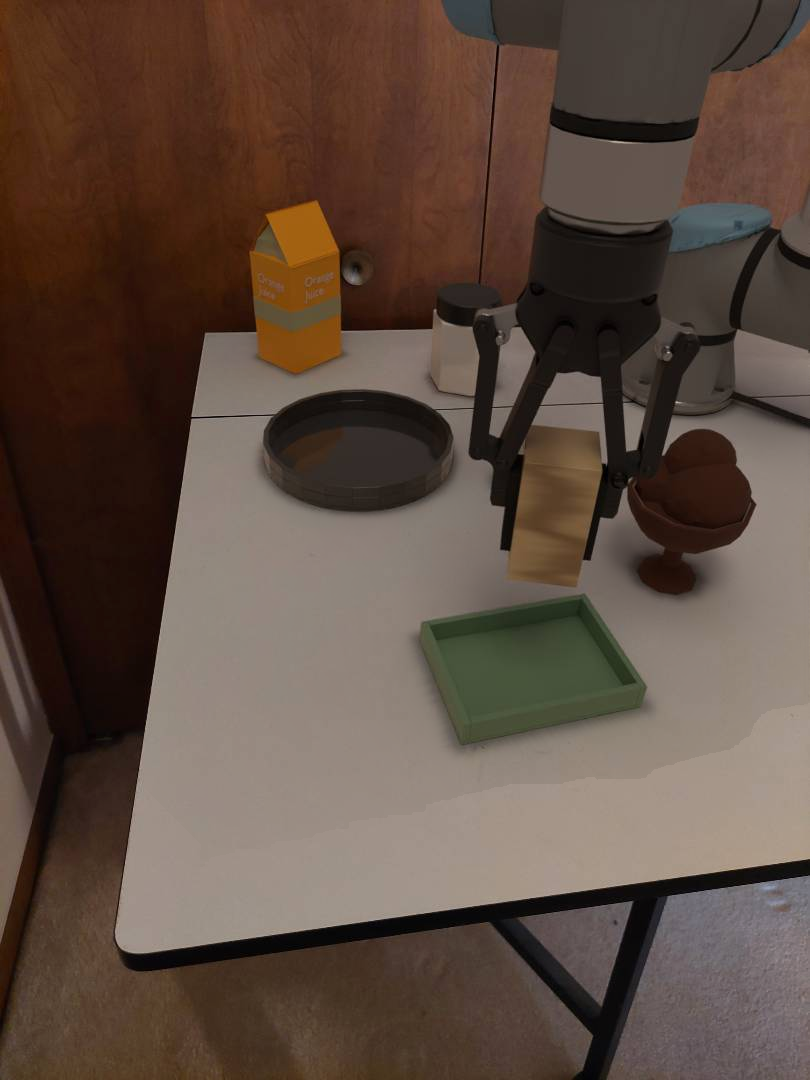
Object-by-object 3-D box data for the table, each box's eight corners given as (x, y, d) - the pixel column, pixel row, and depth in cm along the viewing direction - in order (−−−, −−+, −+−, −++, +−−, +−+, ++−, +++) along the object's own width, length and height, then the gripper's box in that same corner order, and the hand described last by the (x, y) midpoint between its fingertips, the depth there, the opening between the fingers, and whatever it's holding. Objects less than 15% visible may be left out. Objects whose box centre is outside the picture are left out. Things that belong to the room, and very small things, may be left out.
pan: (459, 420, 99) (461, 398, 97) (440, 521, 82) (442, 498, 81) (292, 403, 101) (291, 381, 99) (240, 499, 85) (238, 475, 83)
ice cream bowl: (586, 555, 79) (616, 422, 70) (677, 530, 83) (717, 401, 73) (653, 626, 71) (696, 487, 62) (750, 595, 75) (804, 460, 66)
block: (575, 545, 61) (599, 431, 55) (576, 588, 57) (602, 470, 51) (509, 537, 62) (526, 423, 55) (506, 579, 58) (524, 462, 51)
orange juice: (342, 354, 112) (339, 206, 100) (295, 374, 107) (286, 220, 95) (304, 337, 116) (296, 192, 104) (257, 356, 111) (243, 206, 99)
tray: (580, 612, 72) (585, 593, 71) (641, 706, 64) (647, 686, 63) (419, 641, 69) (420, 621, 67) (461, 745, 61) (463, 724, 59)
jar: (462, 403, 102) (469, 313, 95) (417, 380, 107) (421, 293, 99) (507, 382, 107) (518, 295, 100) (463, 361, 112) (470, 276, 104)
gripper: (761, 206, 46) (665, 527, 60) (449, 182, 48) (429, 500, 62) (791, 248, 40) (677, 593, 55) (434, 219, 42) (415, 561, 56)
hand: (545, 543), depth 58 cm, fingers closed on block, 5 cm apart
